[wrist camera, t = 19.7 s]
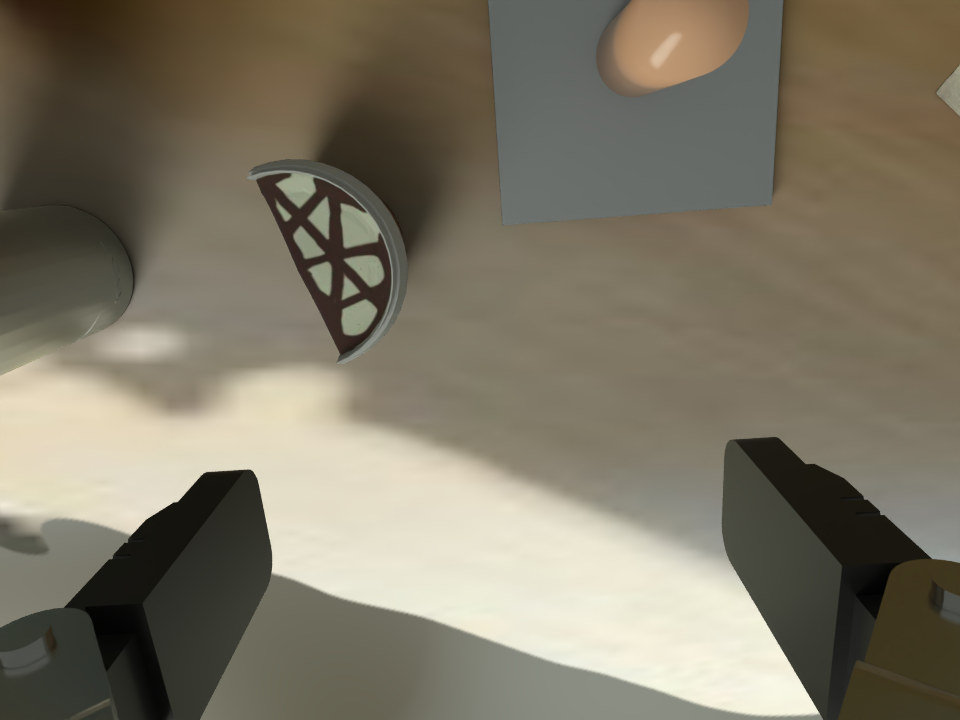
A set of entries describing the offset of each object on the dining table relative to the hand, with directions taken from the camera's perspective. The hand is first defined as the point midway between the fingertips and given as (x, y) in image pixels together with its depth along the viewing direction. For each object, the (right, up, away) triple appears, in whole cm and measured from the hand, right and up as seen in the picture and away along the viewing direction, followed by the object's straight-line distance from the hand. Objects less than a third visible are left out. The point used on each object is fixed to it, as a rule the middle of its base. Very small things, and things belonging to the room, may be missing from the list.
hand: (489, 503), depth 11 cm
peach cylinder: (+10, +22, +30) cm, 38 cm away
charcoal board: (+10, +22, +31) cm, 39 cm away
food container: (-8, +11, +35) cm, 37 cm away
